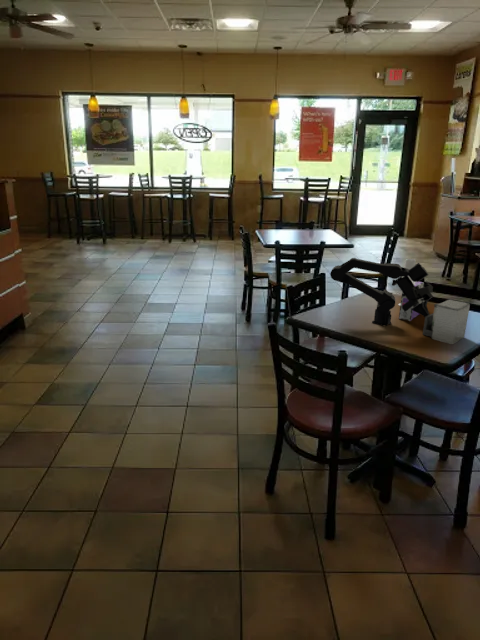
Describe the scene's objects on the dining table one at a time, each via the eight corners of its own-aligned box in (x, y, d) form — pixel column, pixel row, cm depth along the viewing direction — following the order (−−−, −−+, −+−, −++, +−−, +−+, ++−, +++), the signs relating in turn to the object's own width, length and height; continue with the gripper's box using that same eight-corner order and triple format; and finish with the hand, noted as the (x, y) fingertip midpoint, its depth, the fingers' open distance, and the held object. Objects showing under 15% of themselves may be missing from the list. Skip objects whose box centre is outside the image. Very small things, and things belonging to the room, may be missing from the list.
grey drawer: (420, 334, 206) (423, 316, 203) (430, 329, 213) (433, 311, 210) (442, 340, 200) (445, 321, 197) (452, 334, 206) (455, 316, 204)
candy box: (410, 321, 223) (415, 287, 218) (398, 319, 227) (402, 285, 221) (419, 314, 234) (424, 281, 228) (407, 312, 237) (412, 279, 232)
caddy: (431, 338, 202) (437, 304, 197) (444, 332, 210) (449, 299, 205) (452, 344, 196) (458, 309, 191) (464, 337, 204) (470, 303, 199)
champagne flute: (402, 302, 253) (408, 257, 246) (414, 305, 248) (420, 259, 241) (395, 304, 249) (401, 259, 242) (407, 307, 244) (413, 261, 237)
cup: (430, 334, 204) (434, 306, 200) (429, 329, 209) (433, 302, 205) (445, 335, 202) (450, 308, 198) (444, 331, 207) (448, 304, 204)
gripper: (412, 281, 199) (434, 312, 195) (431, 274, 212) (452, 303, 208) (392, 296, 207) (413, 326, 203) (412, 288, 219) (432, 316, 216)
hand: (429, 317), depth 207 cm, fingers closed
